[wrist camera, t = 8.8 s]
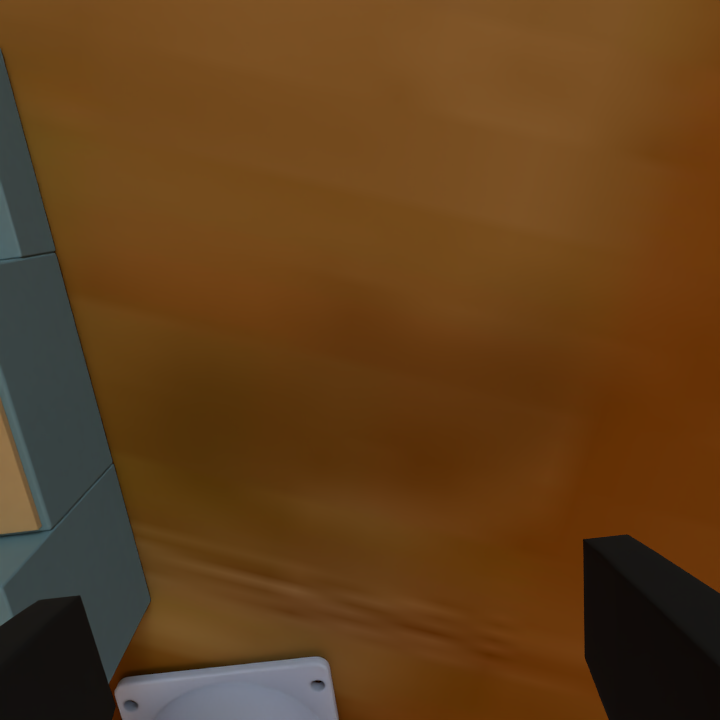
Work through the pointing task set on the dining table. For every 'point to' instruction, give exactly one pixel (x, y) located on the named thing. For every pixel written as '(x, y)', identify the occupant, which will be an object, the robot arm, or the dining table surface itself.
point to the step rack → (53, 431)
